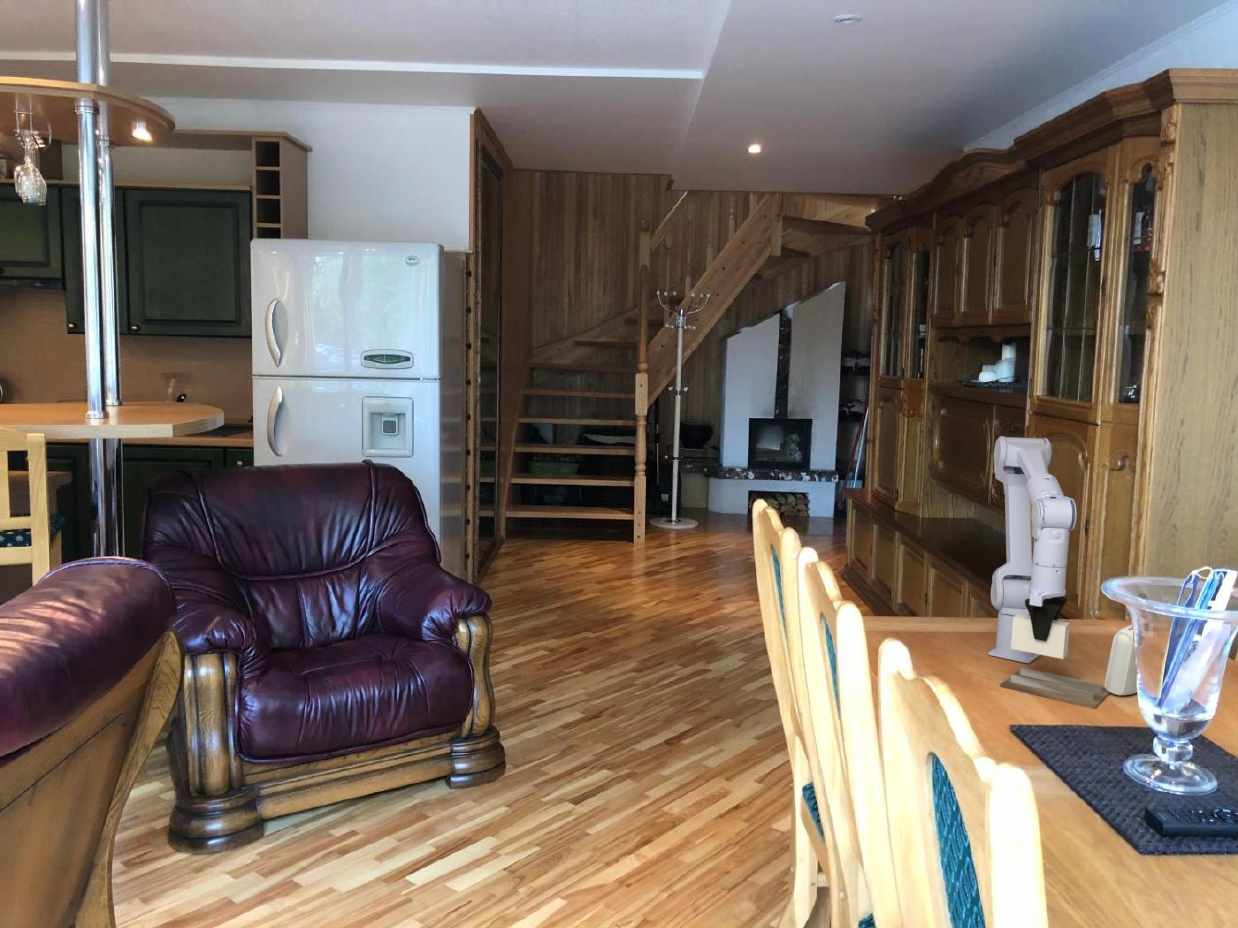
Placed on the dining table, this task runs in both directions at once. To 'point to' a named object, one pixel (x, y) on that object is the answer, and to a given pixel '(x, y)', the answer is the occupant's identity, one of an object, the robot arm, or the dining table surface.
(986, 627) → the dining table surface
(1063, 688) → the track board
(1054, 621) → the cream rectangular block
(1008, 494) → the robot arm
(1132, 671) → the cream rounded upright block
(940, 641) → the dining table surface
